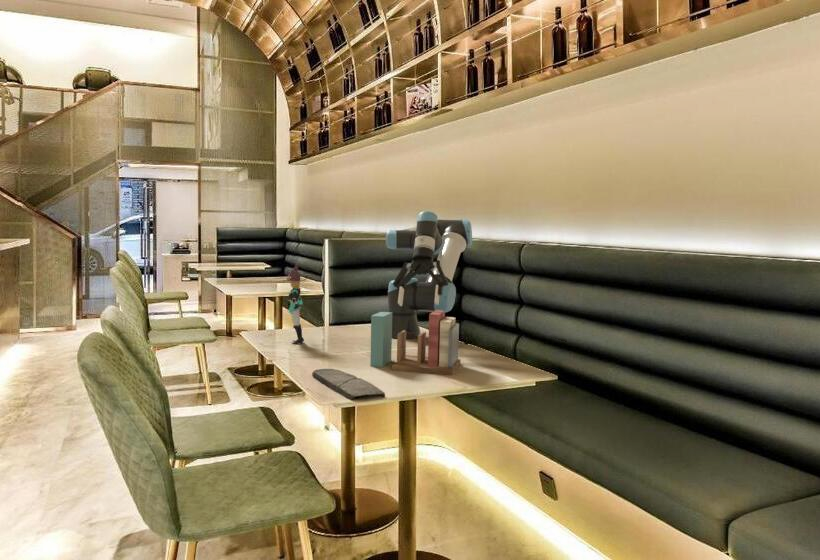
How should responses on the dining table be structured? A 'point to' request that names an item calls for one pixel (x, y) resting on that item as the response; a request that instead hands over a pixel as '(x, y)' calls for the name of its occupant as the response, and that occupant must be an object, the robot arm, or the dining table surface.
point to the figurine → (295, 302)
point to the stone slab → (345, 383)
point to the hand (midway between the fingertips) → (417, 304)
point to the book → (381, 339)
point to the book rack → (432, 347)
